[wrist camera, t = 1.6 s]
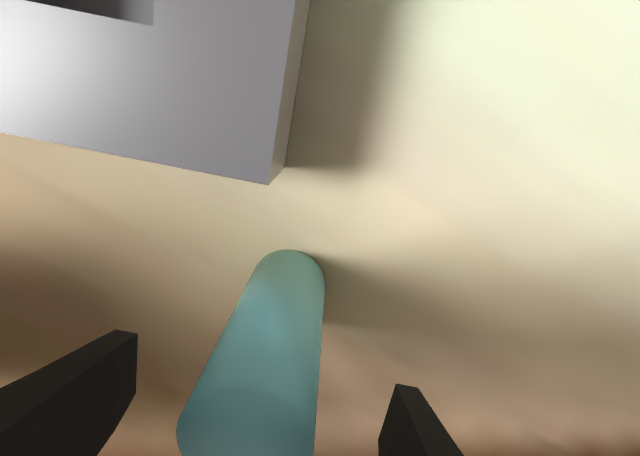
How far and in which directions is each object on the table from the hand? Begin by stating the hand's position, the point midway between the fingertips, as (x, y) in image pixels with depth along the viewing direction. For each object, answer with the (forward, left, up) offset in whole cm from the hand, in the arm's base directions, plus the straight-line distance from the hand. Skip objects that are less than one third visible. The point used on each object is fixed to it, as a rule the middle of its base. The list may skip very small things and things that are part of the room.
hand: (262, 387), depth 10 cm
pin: (0, 0, -6) cm, 6 cm away
